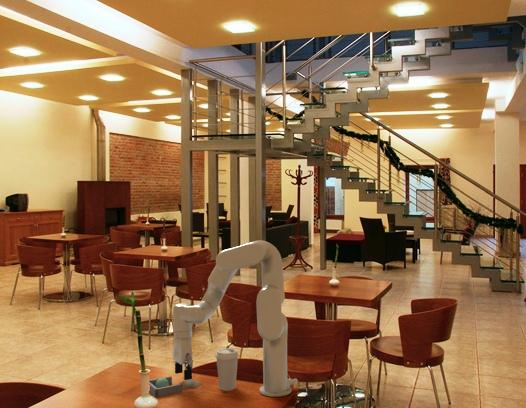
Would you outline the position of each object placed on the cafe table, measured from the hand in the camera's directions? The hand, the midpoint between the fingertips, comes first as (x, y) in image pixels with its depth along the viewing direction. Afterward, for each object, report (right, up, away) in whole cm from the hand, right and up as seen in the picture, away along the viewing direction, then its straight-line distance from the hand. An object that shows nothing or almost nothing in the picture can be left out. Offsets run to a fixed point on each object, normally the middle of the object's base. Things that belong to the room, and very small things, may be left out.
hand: (183, 376), depth 221 cm
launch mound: (+3, -16, +1) cm, 16 cm away
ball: (-8, -2, -5) cm, 9 cm away
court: (-7, -4, -4) cm, 9 cm away
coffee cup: (+18, -4, -3) cm, 19 cm away
